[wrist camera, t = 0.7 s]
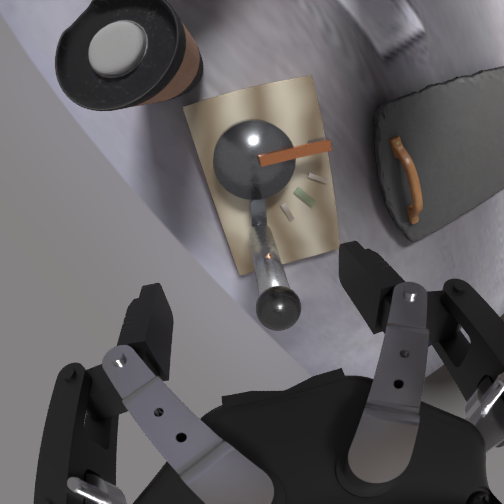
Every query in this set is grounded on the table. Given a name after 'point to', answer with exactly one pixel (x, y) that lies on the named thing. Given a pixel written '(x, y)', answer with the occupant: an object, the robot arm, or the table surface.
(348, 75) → the table surface
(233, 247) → the flat beige board
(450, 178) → the serving board
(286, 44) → the table surface
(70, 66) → the travel mug
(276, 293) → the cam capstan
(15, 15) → the table surface
